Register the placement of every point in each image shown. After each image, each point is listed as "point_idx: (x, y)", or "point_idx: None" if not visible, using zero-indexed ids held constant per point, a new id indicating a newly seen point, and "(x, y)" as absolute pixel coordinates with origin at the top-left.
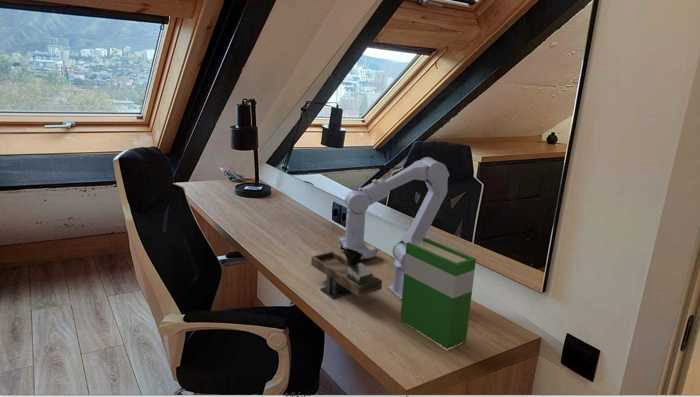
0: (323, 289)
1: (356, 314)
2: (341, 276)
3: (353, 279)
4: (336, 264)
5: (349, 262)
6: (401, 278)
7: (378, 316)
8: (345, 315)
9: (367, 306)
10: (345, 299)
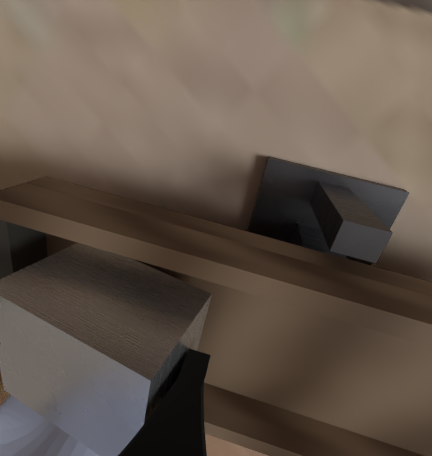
0: (382, 197)
1: (69, 117)
2: (222, 262)
3: (113, 276)
4: None
5: (160, 444)
6: (26, 426)
7: (9, 177)
8: (91, 60)
9: None
10: (214, 201)
